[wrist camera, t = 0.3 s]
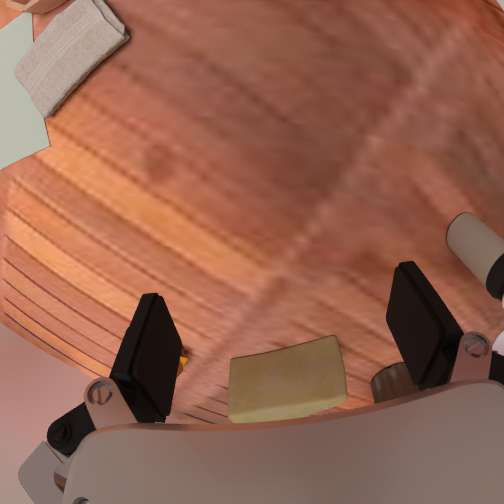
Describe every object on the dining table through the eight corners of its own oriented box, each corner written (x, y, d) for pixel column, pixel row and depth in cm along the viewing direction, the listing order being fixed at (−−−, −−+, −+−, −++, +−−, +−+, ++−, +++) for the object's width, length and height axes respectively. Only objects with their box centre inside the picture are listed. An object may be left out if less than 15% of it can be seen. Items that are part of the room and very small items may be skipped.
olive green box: (328, 321, 54) (346, 386, 41) (341, 348, 58) (357, 407, 45) (227, 357, 59) (224, 419, 46) (249, 379, 63) (250, 436, 50)
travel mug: (439, 246, 45) (493, 311, 30) (455, 207, 41) (521, 264, 26) (465, 252, 46) (517, 311, 30) (481, 216, 42) (541, 270, 26)
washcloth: (137, 35, 28) (128, 31, 25) (51, 120, 33) (40, 124, 30) (97, -12, 22) (88, -17, 20) (19, 73, 27) (7, 74, 25)
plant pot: (429, 353, 62) (452, 402, 48) (403, 388, 70) (418, 433, 56) (378, 358, 61) (398, 415, 47) (355, 394, 69) (367, 444, 55)
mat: (-24, 51, 22) (-25, 51, 22) (32, 6, 21) (31, 6, 21) (-5, 172, 36) (-6, 172, 35) (50, 145, 35) (49, 146, 34)
